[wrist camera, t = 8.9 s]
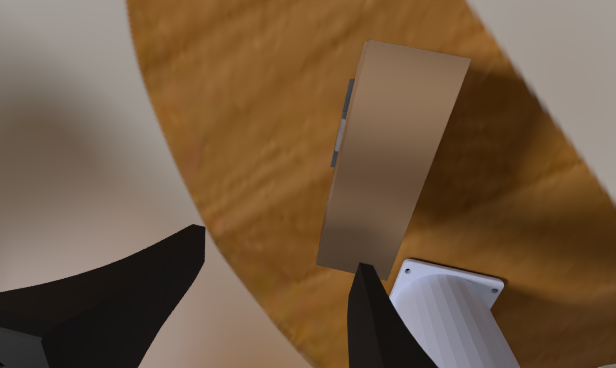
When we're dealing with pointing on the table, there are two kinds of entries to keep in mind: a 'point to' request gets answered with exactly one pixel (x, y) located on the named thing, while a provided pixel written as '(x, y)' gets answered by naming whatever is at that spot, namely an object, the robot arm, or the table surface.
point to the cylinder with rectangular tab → (608, 366)
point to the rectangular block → (386, 152)
